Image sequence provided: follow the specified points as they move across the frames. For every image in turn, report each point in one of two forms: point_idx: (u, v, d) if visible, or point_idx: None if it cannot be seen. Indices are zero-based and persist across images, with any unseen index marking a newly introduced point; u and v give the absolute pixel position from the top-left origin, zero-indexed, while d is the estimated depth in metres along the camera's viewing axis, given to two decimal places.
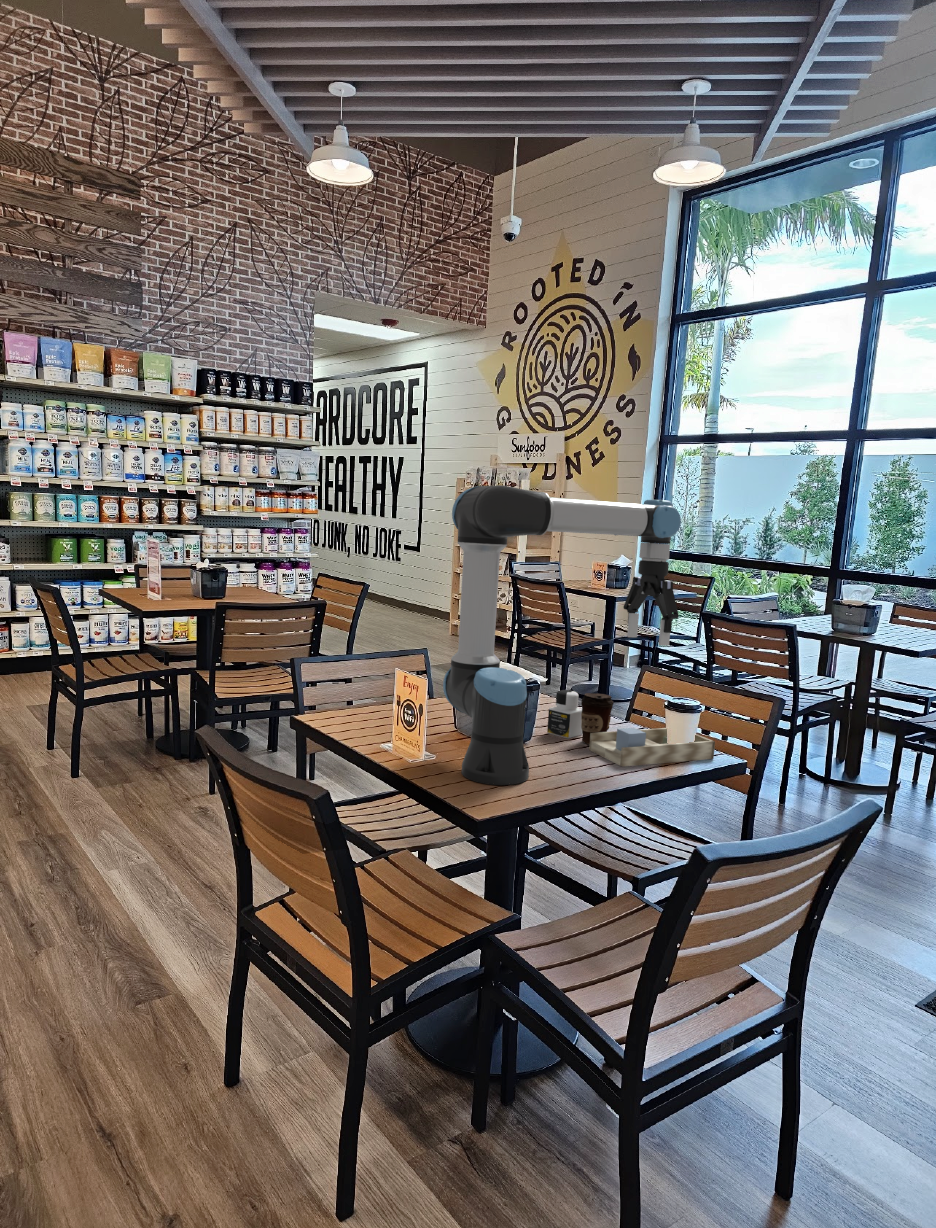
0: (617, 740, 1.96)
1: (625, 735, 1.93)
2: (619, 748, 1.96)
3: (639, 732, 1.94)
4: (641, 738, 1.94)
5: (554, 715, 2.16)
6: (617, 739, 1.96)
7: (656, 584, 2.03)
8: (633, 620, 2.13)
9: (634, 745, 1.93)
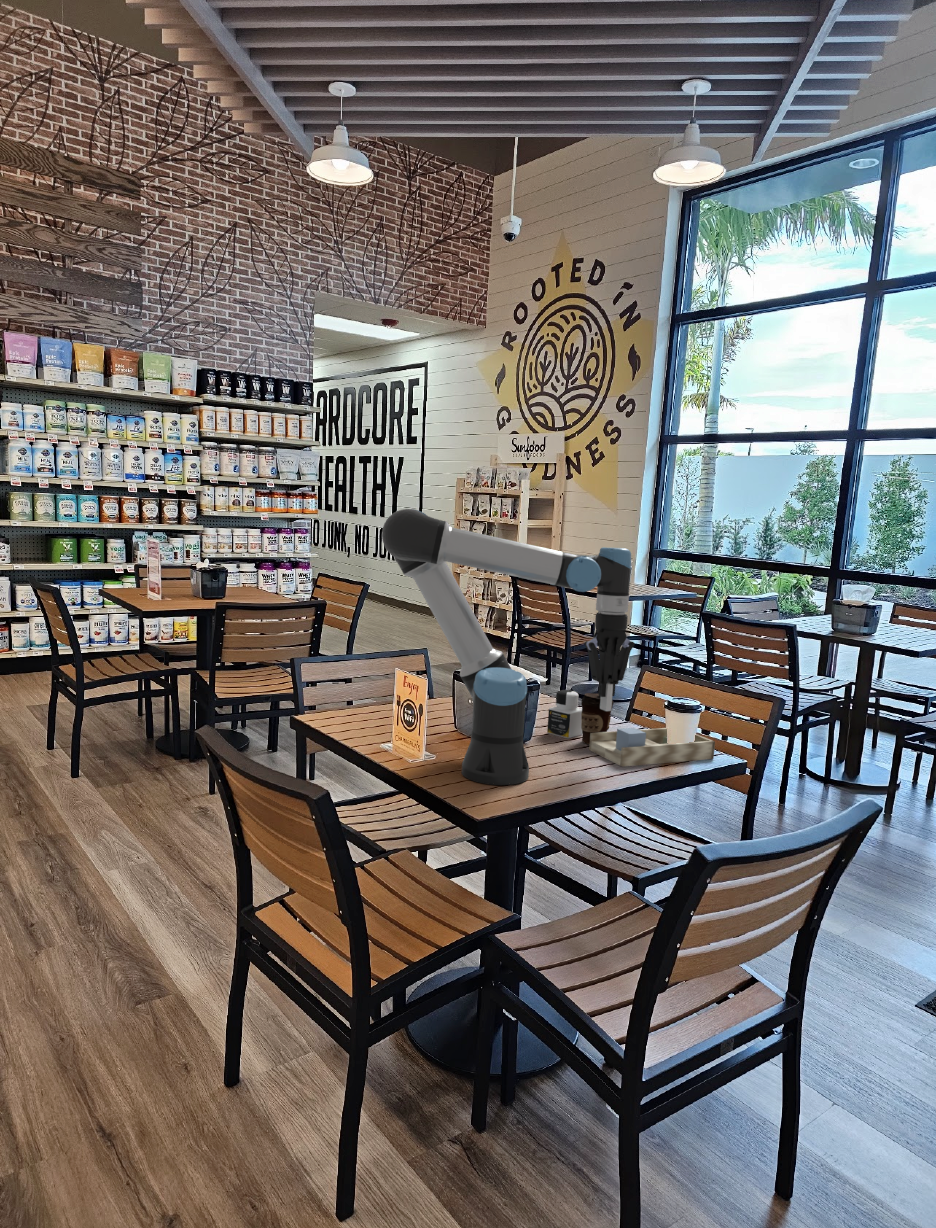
0: (617, 740, 1.96)
1: (625, 735, 1.93)
2: (619, 748, 1.96)
3: (639, 732, 1.94)
4: (641, 738, 1.94)
5: (554, 715, 2.16)
6: (617, 739, 1.96)
7: None
8: None
9: (634, 745, 1.93)
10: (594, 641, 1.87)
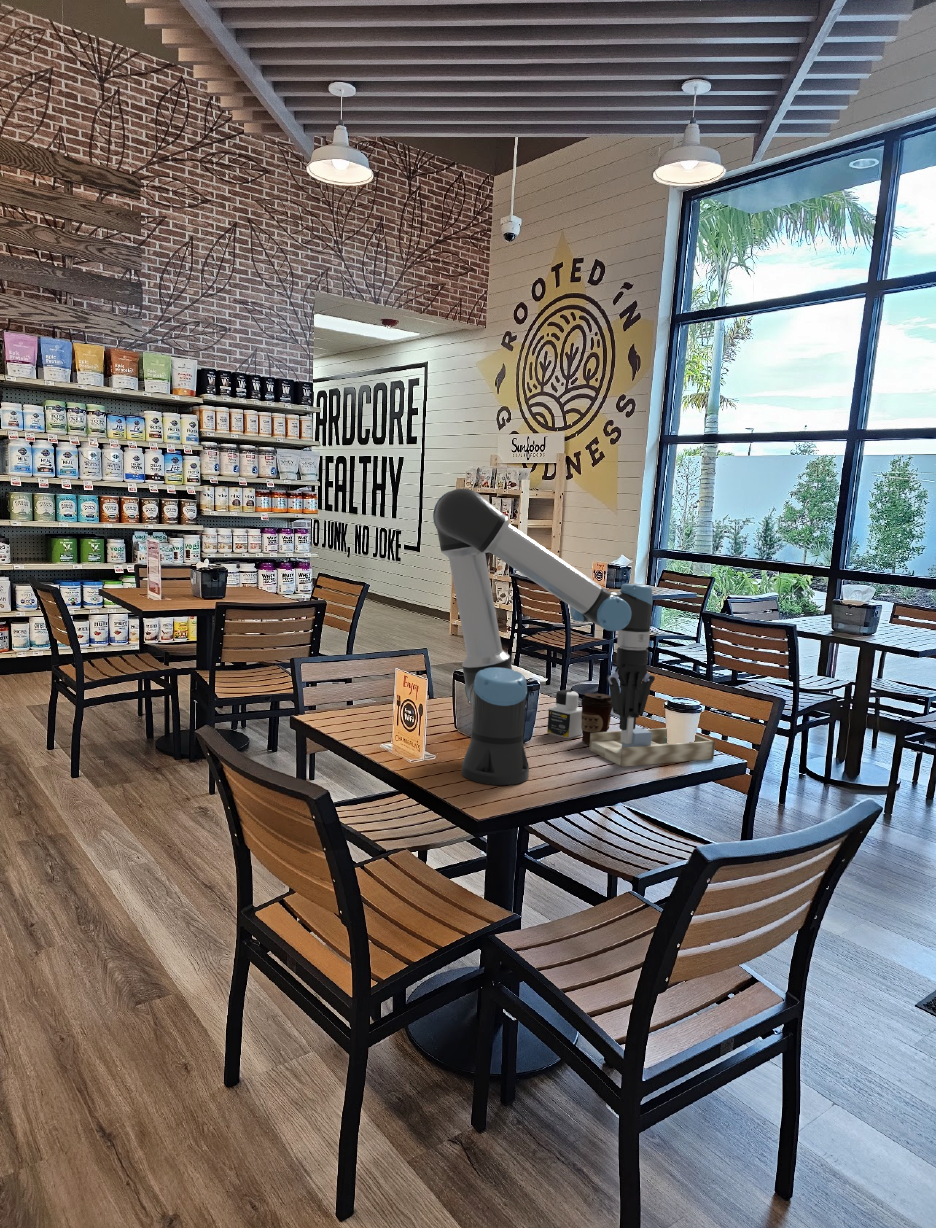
0: None
1: None
2: None
3: (645, 732, 1.95)
4: (647, 738, 1.94)
5: (554, 715, 2.16)
6: None
7: None
8: None
9: (640, 744, 1.94)
10: (615, 675, 1.91)
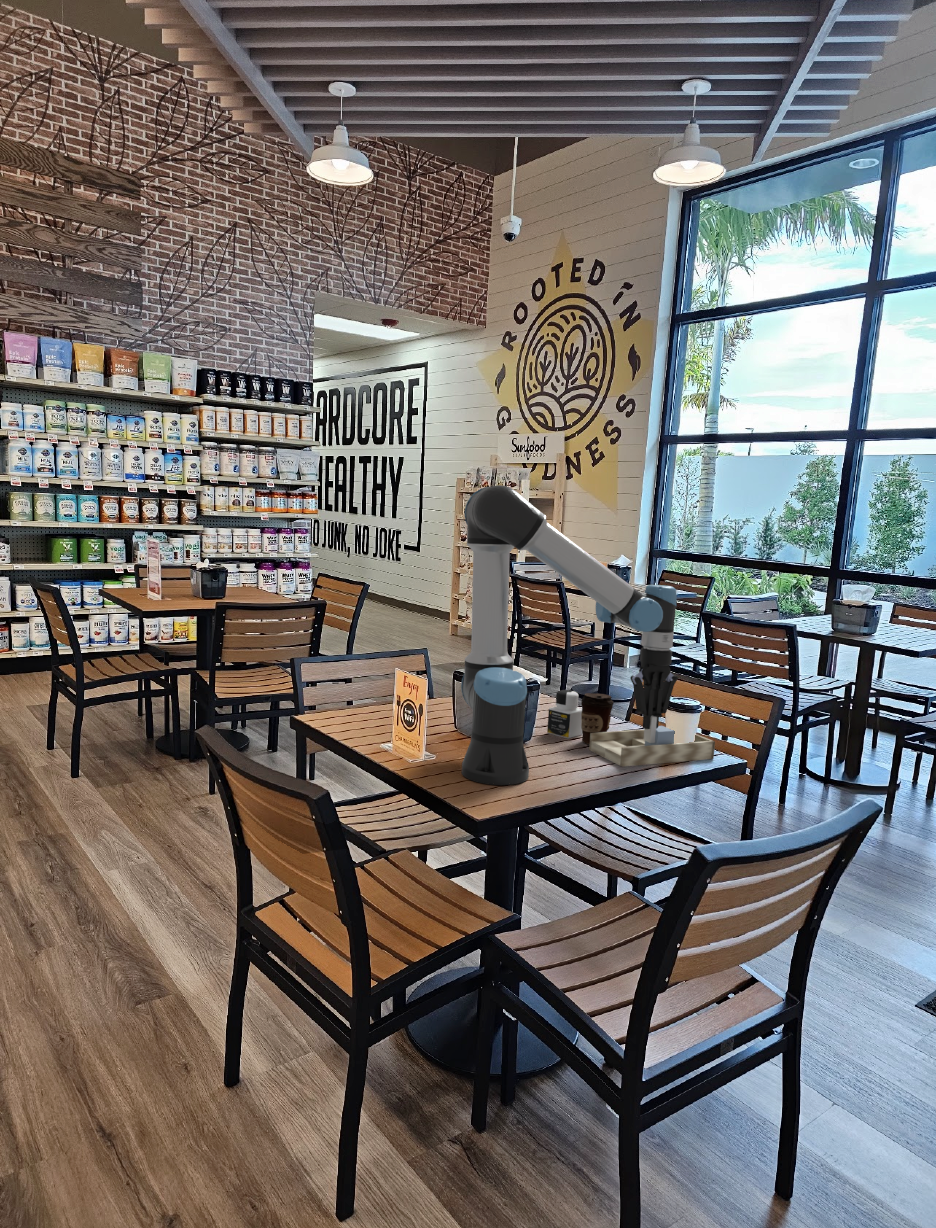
0: None
1: None
2: None
3: (668, 730, 1.98)
4: (670, 736, 1.97)
5: (554, 715, 2.16)
6: None
7: None
8: None
9: (663, 743, 1.97)
10: (639, 675, 1.94)
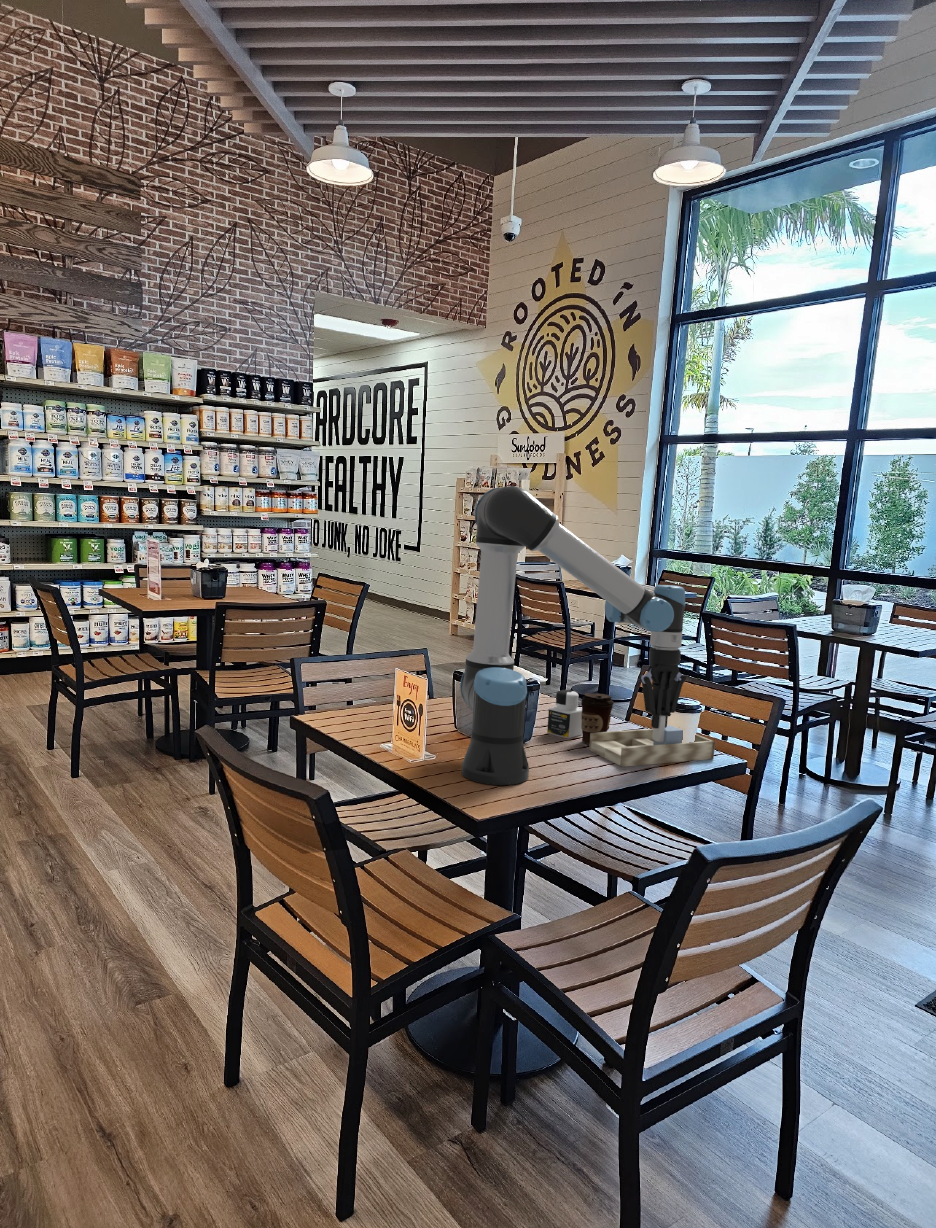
0: None
1: None
2: None
3: (676, 729, 1.99)
4: (678, 735, 1.98)
5: (554, 715, 2.16)
6: None
7: None
8: None
9: (672, 742, 1.98)
10: (648, 675, 1.95)
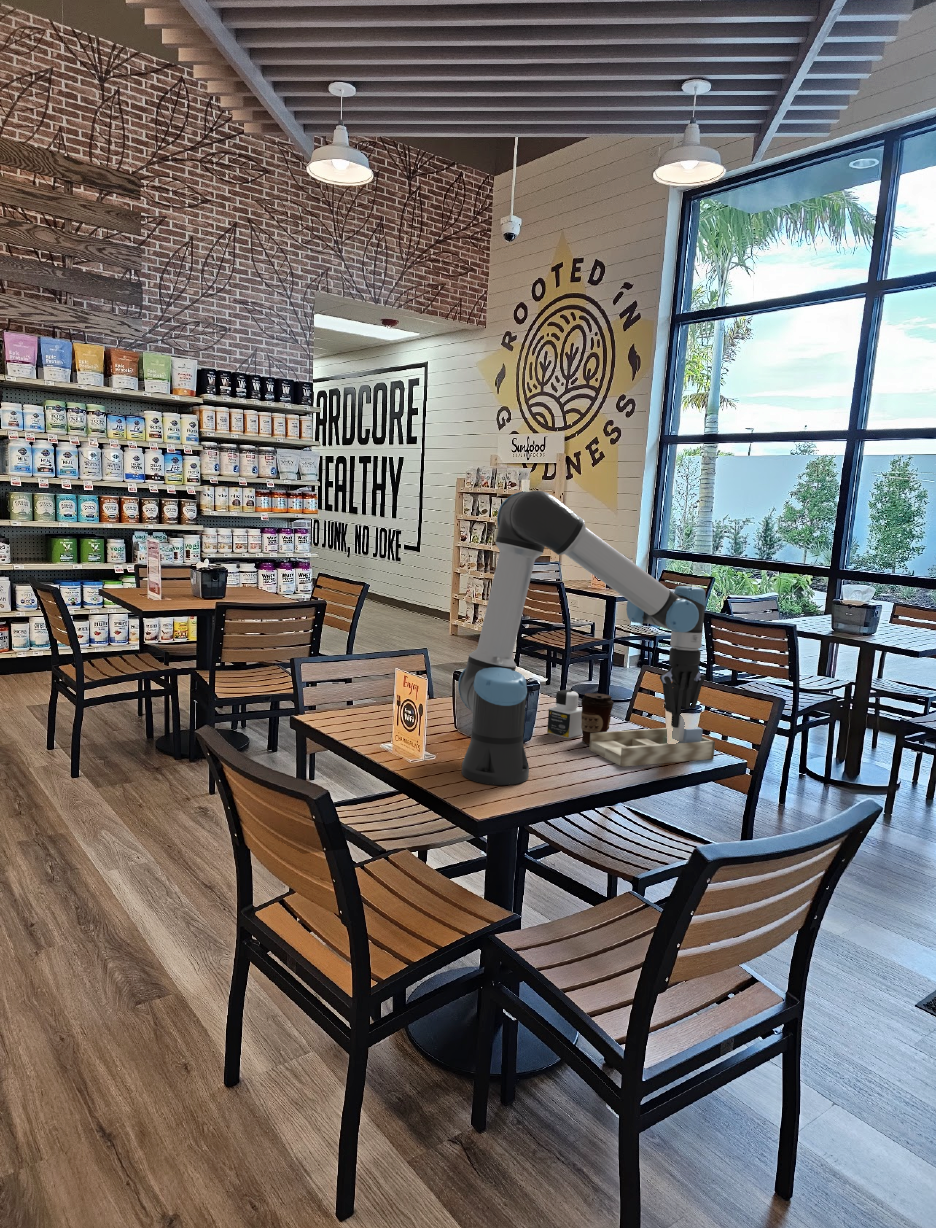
0: None
1: None
2: None
3: None
4: (698, 734, 2.01)
5: (554, 715, 2.16)
6: None
7: None
8: None
9: (691, 741, 2.00)
10: (669, 674, 1.97)
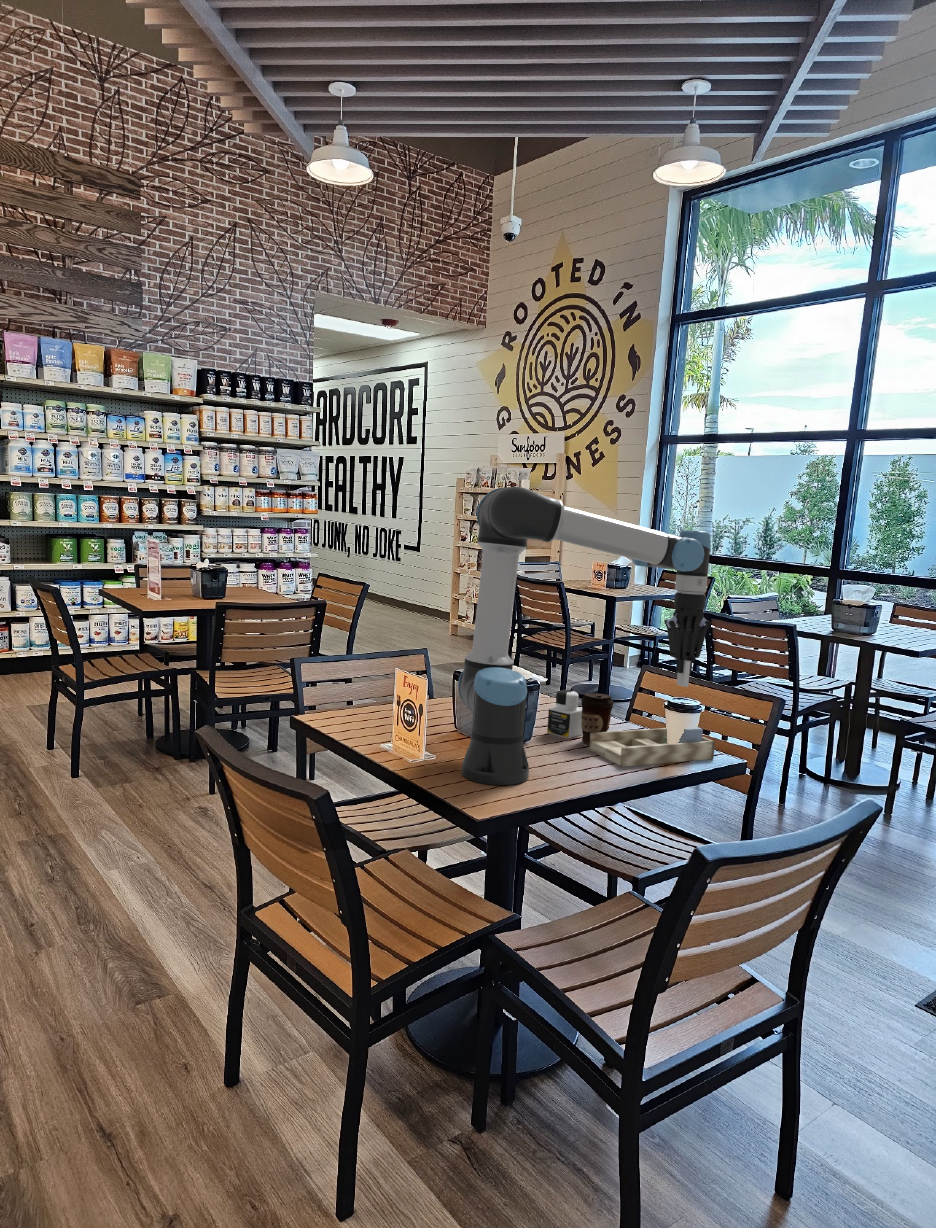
0: None
1: None
2: None
3: None
4: (698, 734, 2.01)
5: (554, 715, 2.16)
6: None
7: None
8: None
9: (691, 740, 2.00)
10: (674, 619, 1.96)
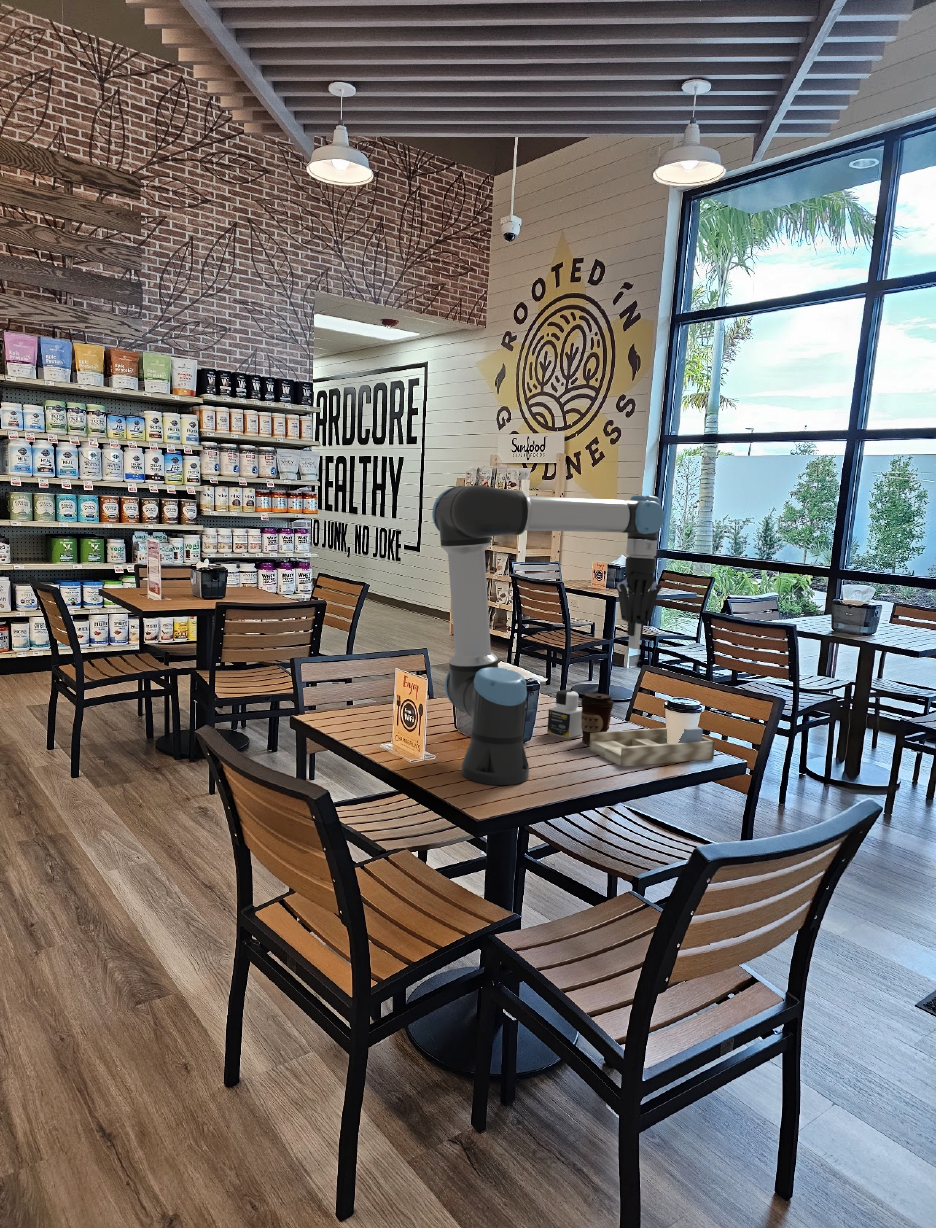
0: None
1: None
2: None
3: None
4: (698, 734, 2.01)
5: (554, 715, 2.16)
6: None
7: None
8: None
9: (691, 740, 2.00)
10: (624, 582, 2.00)
